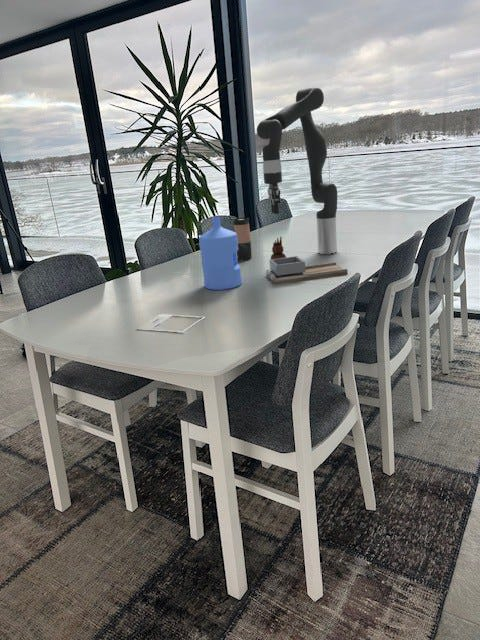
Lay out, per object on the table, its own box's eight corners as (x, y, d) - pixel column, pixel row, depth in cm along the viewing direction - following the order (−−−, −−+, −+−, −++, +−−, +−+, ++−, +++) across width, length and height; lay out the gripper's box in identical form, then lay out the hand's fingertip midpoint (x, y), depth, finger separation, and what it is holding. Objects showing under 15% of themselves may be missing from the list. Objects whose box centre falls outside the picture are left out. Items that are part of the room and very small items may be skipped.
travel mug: (254, 257, 253) (251, 217, 246) (248, 260, 246) (244, 219, 240) (241, 257, 256) (237, 217, 250) (234, 260, 250) (230, 220, 243)
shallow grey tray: (270, 273, 213) (269, 259, 211) (297, 269, 215) (296, 256, 213) (277, 280, 202) (276, 265, 200) (305, 276, 203) (305, 261, 201)
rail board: (266, 276, 214) (266, 269, 213) (335, 267, 218) (335, 260, 217) (274, 284, 201) (273, 277, 200) (347, 274, 205) (347, 267, 204)
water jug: (214, 293, 197) (205, 221, 188) (198, 285, 211) (190, 218, 201) (248, 285, 204) (242, 215, 194) (231, 278, 217) (225, 213, 208)
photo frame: (160, 313, 176) (205, 316, 169) (161, 316, 177) (205, 319, 169) (136, 327, 164) (183, 331, 156) (136, 330, 164) (183, 334, 157)
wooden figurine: (288, 268, 224) (286, 235, 219) (284, 271, 219) (282, 237, 214) (273, 268, 226) (271, 235, 221) (270, 271, 221) (267, 238, 216)
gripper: (260, 171, 215) (263, 212, 220) (267, 173, 202) (270, 216, 207) (277, 170, 216) (279, 210, 221) (285, 171, 203) (288, 214, 208)
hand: (275, 213), depth 214 cm, fingers open, 3 cm apart
